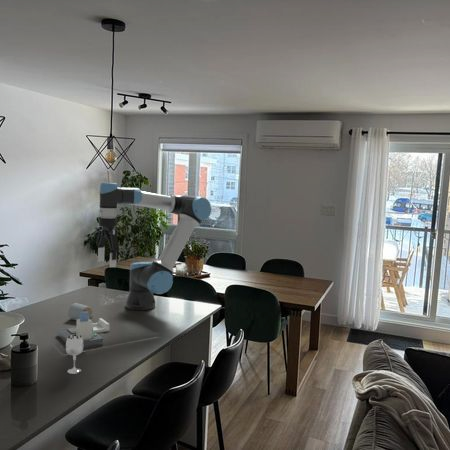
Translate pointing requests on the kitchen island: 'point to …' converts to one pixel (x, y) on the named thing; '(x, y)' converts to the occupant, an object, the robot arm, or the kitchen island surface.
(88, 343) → the port panel
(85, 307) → the ceramic mug
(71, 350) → the wineglass
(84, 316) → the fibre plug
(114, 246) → the robot arm
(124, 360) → the kitchen island surface
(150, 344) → the kitchen island surface
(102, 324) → the holster
